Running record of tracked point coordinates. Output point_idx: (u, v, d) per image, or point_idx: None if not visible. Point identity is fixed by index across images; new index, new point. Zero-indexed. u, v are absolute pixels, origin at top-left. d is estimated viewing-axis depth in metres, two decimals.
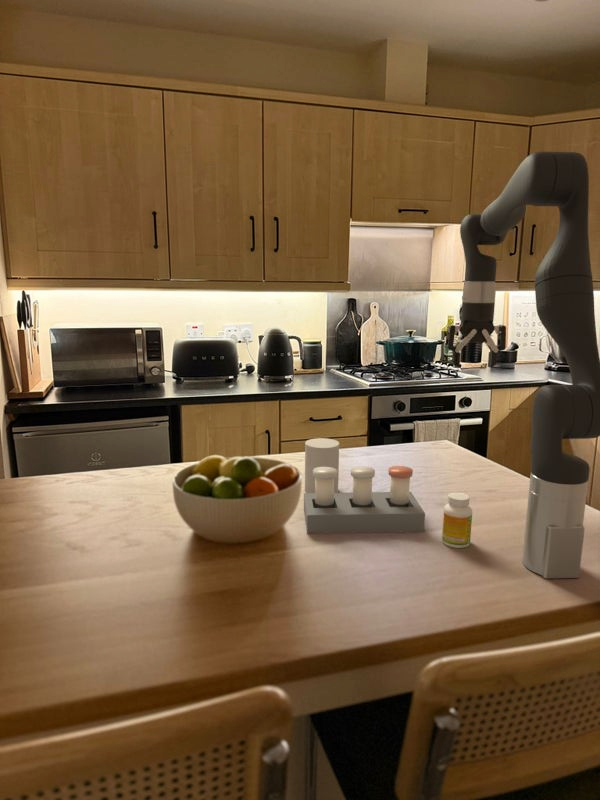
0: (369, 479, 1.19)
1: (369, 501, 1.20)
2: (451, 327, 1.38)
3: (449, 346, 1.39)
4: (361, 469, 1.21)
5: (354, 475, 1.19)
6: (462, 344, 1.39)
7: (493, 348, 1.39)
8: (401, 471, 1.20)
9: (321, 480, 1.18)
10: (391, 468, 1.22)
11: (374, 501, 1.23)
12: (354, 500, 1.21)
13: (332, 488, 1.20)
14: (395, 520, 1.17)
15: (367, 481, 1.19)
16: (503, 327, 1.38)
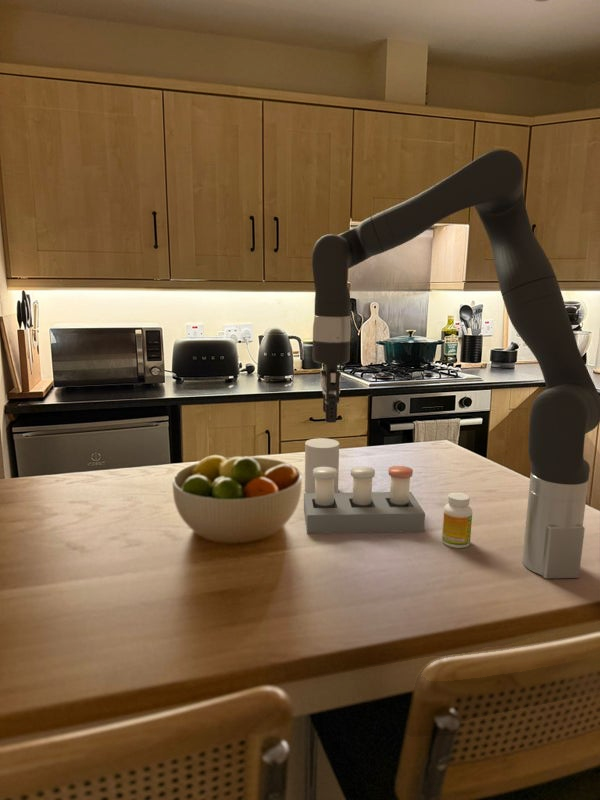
0: (369, 479, 1.19)
1: (369, 501, 1.20)
2: (339, 375, 1.10)
3: (338, 398, 1.11)
4: (361, 469, 1.21)
5: (354, 475, 1.19)
6: (338, 393, 1.14)
7: None
8: (401, 471, 1.20)
9: (321, 480, 1.18)
10: (391, 468, 1.22)
11: (374, 501, 1.23)
12: (354, 500, 1.21)
13: (332, 488, 1.20)
14: (395, 520, 1.17)
15: (367, 481, 1.19)
16: None
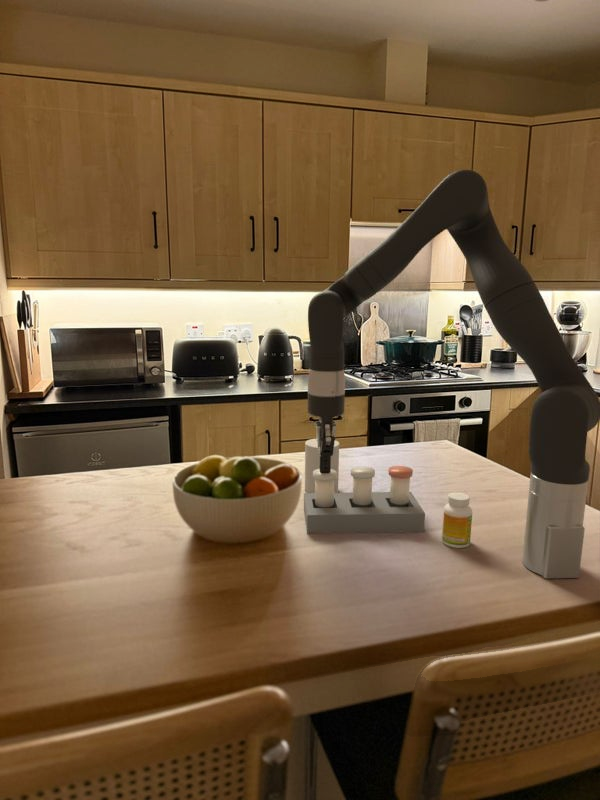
0: (369, 479, 1.19)
1: (369, 501, 1.20)
2: (334, 440, 1.13)
3: (332, 453, 1.16)
4: (361, 469, 1.21)
5: (354, 475, 1.19)
6: None
7: None
8: (401, 471, 1.20)
9: (321, 482, 1.19)
10: (391, 468, 1.22)
11: (374, 501, 1.23)
12: (354, 500, 1.21)
13: (332, 490, 1.20)
14: (395, 520, 1.17)
15: (367, 481, 1.19)
16: None
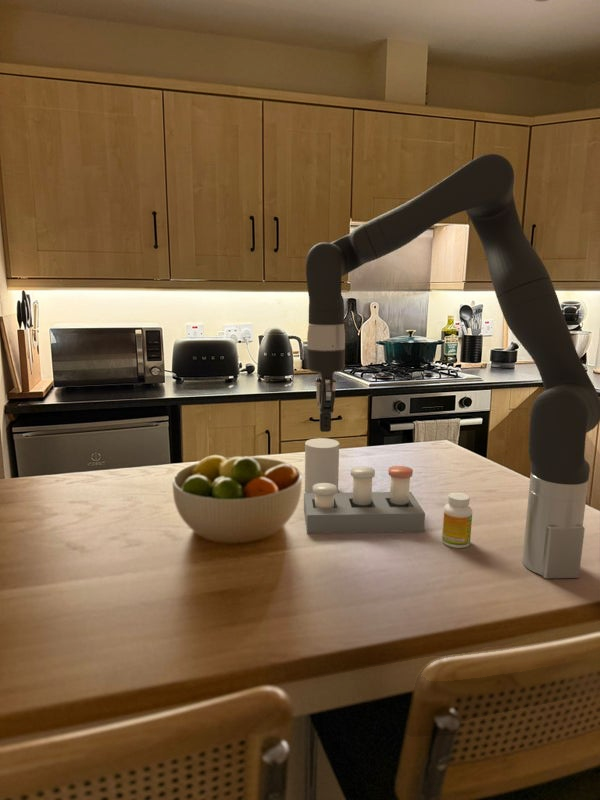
0: (369, 479, 1.19)
1: (369, 501, 1.20)
2: (334, 395, 1.11)
3: (332, 410, 1.14)
4: (361, 469, 1.21)
5: (354, 475, 1.19)
6: None
7: None
8: (401, 471, 1.20)
9: (321, 496, 1.19)
10: (391, 468, 1.22)
11: (374, 501, 1.23)
12: (354, 500, 1.21)
13: (332, 504, 1.20)
14: (395, 520, 1.17)
15: (367, 481, 1.19)
16: None
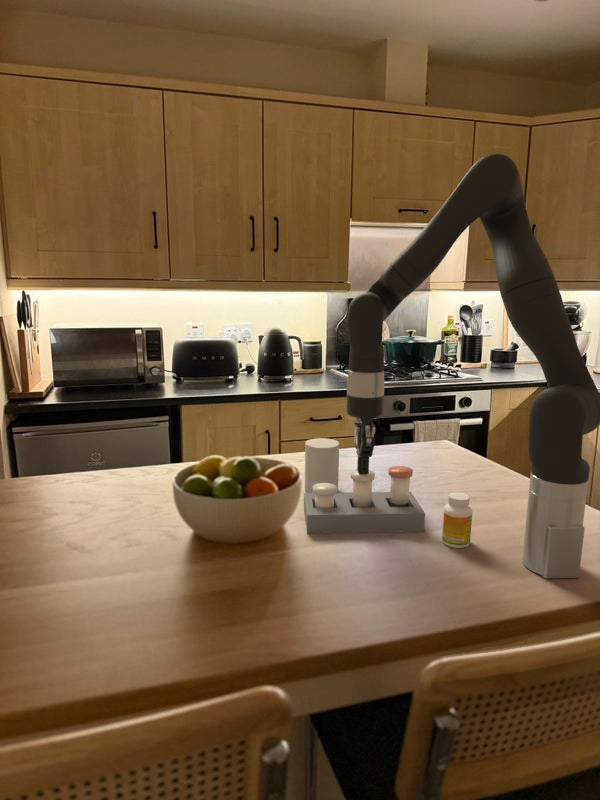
0: (369, 482, 1.19)
1: (369, 504, 1.21)
2: (374, 441, 1.13)
3: (371, 454, 1.17)
4: None
5: (354, 478, 1.19)
6: None
7: None
8: (401, 471, 1.20)
9: (321, 496, 1.19)
10: (391, 468, 1.22)
11: (374, 501, 1.23)
12: (354, 503, 1.21)
13: (332, 504, 1.20)
14: (395, 520, 1.17)
15: (367, 484, 1.19)
16: None
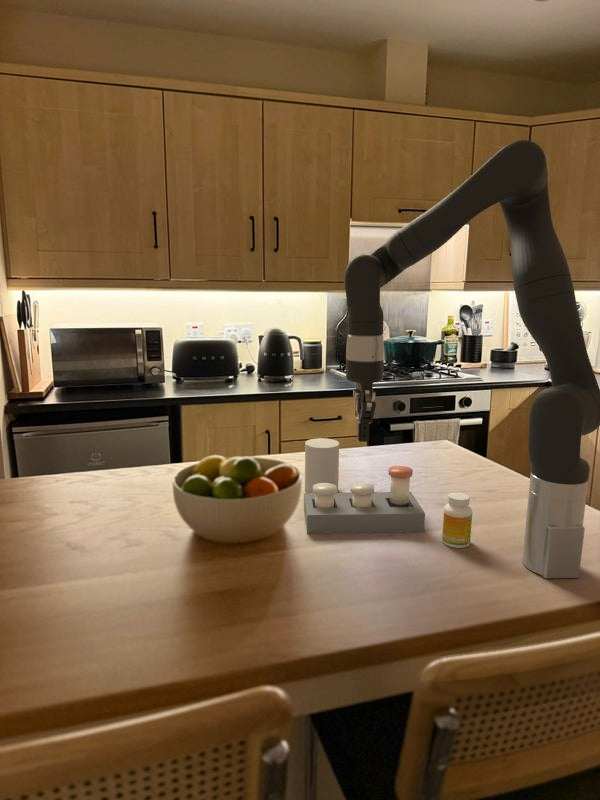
0: (368, 496, 1.20)
1: None
2: (375, 405, 1.11)
3: None
4: (361, 485, 1.22)
5: (354, 492, 1.20)
6: None
7: None
8: (401, 471, 1.20)
9: (321, 496, 1.19)
10: (391, 468, 1.22)
11: (374, 501, 1.23)
12: None
13: (332, 504, 1.20)
14: (395, 520, 1.17)
15: (367, 497, 1.20)
16: None
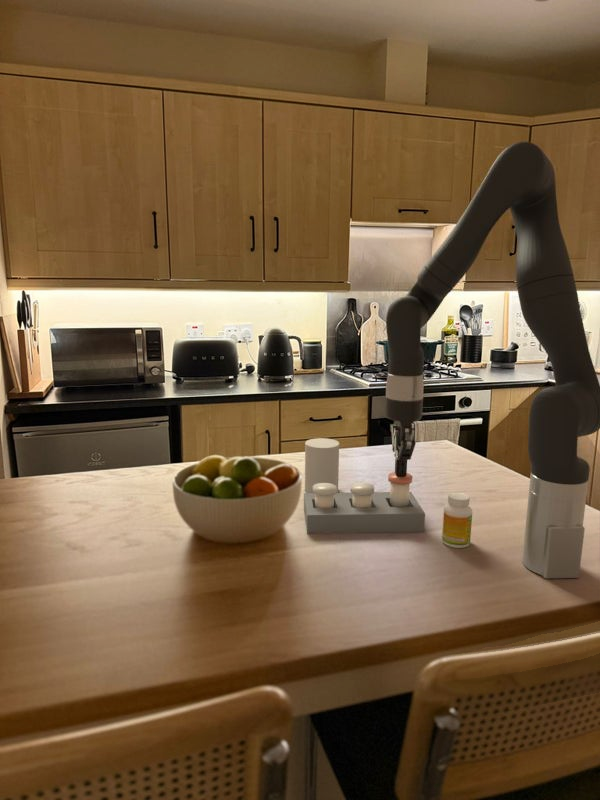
0: (368, 496, 1.20)
1: None
2: (414, 444, 1.14)
3: (410, 457, 1.17)
4: (361, 485, 1.22)
5: (354, 492, 1.20)
6: None
7: None
8: (400, 477, 1.20)
9: (321, 496, 1.19)
10: (391, 474, 1.22)
11: (374, 501, 1.23)
12: None
13: (332, 504, 1.20)
14: (395, 520, 1.17)
15: (367, 497, 1.20)
16: None
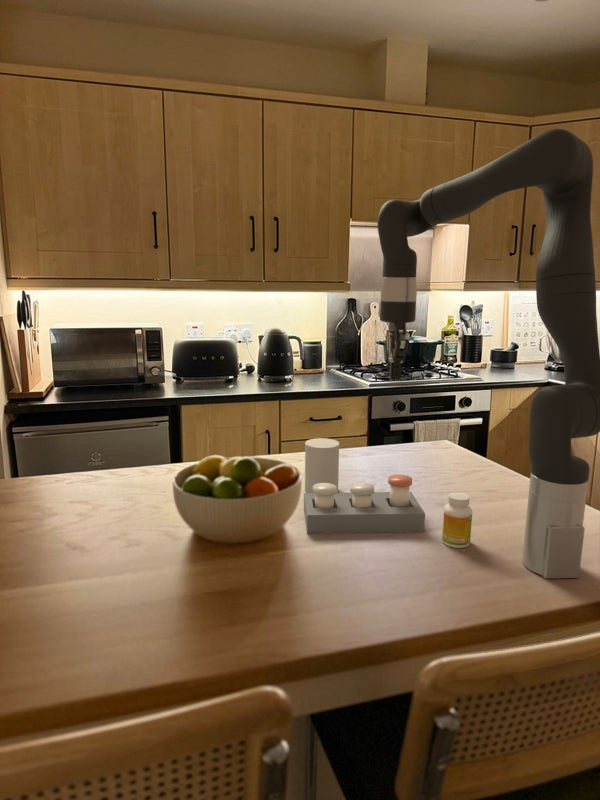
0: (368, 496, 1.20)
1: None
2: None
3: (404, 358, 1.22)
4: (361, 485, 1.22)
5: (354, 492, 1.20)
6: None
7: None
8: (400, 480, 1.20)
9: (321, 496, 1.19)
10: (391, 477, 1.22)
11: (374, 501, 1.23)
12: None
13: (332, 504, 1.20)
14: (395, 520, 1.17)
15: (367, 497, 1.20)
16: None
